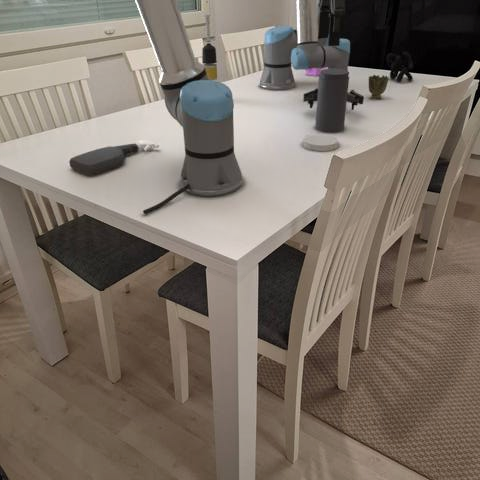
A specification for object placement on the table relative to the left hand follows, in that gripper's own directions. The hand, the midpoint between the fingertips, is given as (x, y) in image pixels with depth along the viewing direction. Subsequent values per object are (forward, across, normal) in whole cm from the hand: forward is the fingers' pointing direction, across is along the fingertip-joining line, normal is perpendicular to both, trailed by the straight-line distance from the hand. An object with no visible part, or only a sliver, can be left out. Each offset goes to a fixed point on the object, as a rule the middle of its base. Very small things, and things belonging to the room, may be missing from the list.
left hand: (327, 41), depth 117 cm
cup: (+28, +50, -32) cm, 66 cm away
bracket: (+28, +99, -18) cm, 104 cm away
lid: (+27, 0, 0) cm, 27 cm away
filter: (+28, +56, +33) cm, 71 cm away
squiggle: (+28, +79, -51) cm, 99 cm away
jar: (+28, +15, -6) cm, 33 cm away
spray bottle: (+28, -7, +58) cm, 65 cm away
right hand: (+22, +21, -7) cm, 31 cm away
